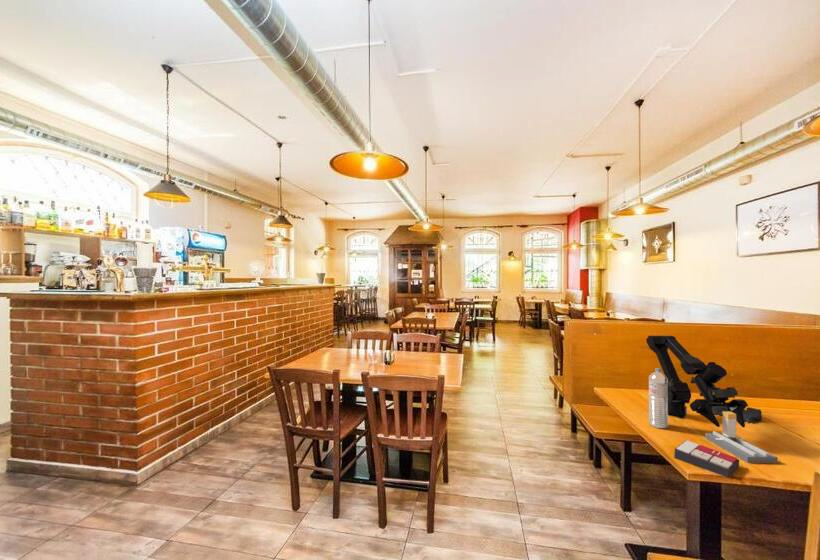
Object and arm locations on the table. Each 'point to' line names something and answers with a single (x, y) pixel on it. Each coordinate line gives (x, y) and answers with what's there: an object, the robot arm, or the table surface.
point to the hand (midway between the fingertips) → (731, 426)
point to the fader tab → (729, 425)
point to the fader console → (741, 448)
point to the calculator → (707, 458)
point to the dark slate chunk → (749, 415)
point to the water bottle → (658, 400)
